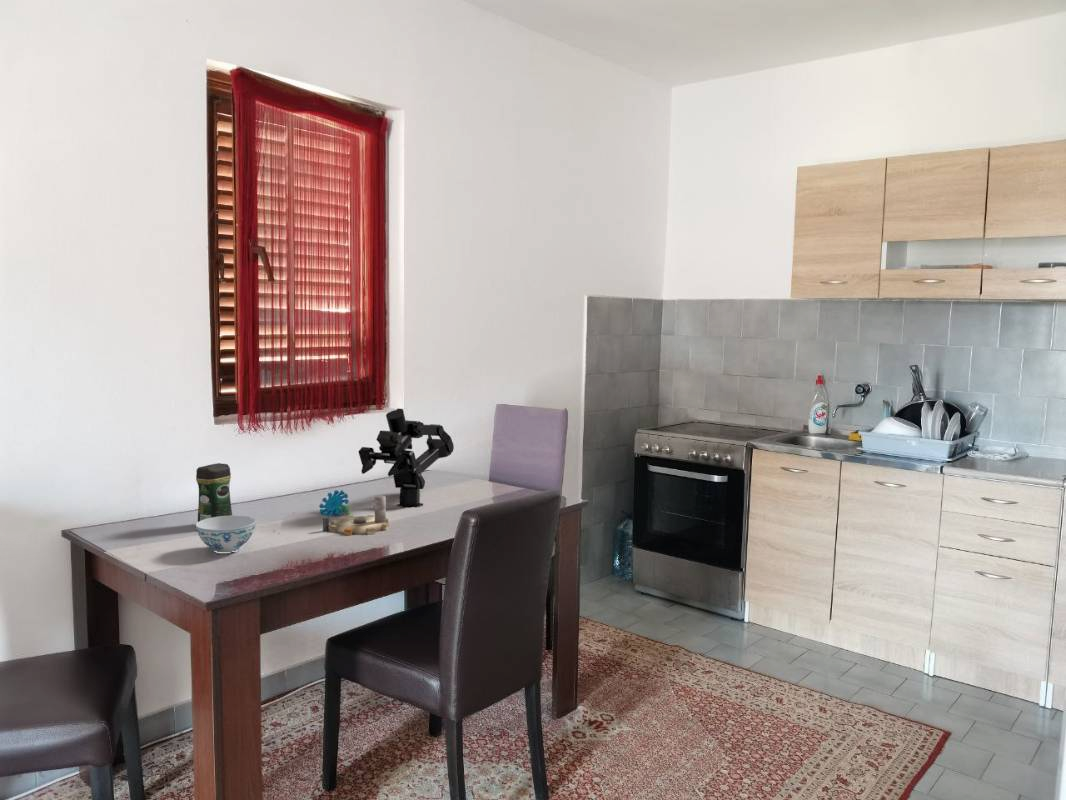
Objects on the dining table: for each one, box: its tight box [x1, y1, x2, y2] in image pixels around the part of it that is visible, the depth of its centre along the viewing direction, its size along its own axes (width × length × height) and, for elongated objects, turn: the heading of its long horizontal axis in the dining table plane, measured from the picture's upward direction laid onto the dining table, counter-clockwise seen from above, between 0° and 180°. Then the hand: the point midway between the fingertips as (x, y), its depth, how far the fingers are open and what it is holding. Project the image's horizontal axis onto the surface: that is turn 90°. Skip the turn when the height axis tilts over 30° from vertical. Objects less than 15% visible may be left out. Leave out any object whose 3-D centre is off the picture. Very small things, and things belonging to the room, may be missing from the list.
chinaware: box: [195, 515, 257, 552], centre depth 217 cm, size 15×15×8 cm
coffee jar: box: [195, 462, 233, 522], centre depth 242 cm, size 10×8×19 cm
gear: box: [318, 489, 351, 517], centre depth 259 cm, size 11×6×10 cm
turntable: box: [329, 495, 390, 536], centre depth 241 cm, size 17×17×9 cm
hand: (375, 473), depth 249 cm, fingers open, 9 cm apart
